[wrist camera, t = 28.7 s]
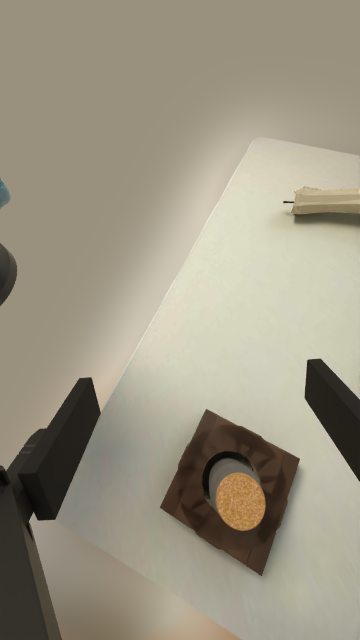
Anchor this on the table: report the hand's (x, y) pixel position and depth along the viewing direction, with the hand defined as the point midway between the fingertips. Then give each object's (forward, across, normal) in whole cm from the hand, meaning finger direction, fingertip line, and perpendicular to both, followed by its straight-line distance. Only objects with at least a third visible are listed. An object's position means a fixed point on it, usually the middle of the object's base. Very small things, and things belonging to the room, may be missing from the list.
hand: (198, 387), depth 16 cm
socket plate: (+15, -3, +27) cm, 31 cm away
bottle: (+15, -3, +27) cm, 31 cm away
